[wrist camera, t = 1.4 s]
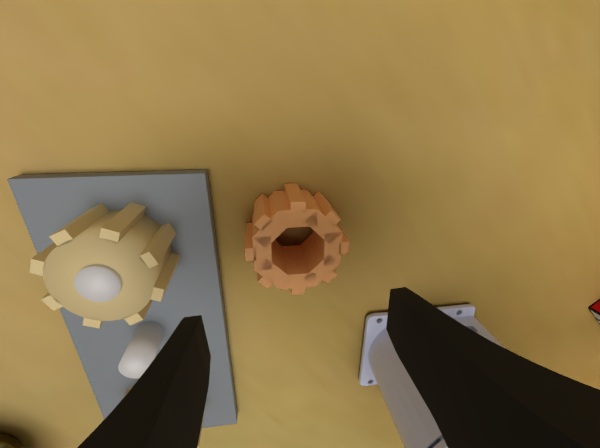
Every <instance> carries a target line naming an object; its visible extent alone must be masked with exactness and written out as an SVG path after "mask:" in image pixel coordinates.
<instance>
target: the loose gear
mask: <svg viewBox="0 0 600 448" xmlns="http://www.w3.org/2000/svg"><path fill="white" fill-rule="evenodd" d="M340 220H341V219H340V218H339V216H338V215H337V213H336V212H335V211H334V209H333V208H332V206H331V205H330V203H329V202H328V201H327V199H326V198H325V197H324V196H323V195H322V194H321V193H320V192H319V191H318V192H317V193H316V194H315V195H314V196H313V195H312V194H311V193H310V192H309V191H308V190H300V189H299V187H298V185H297V183H288V184H284V191H274V192H273V193H272V194H271V195H270V196H269V197H268V198H267V197H266V196H265V195H264V194H263V193H262V194H261V195H260V196H259V197H258V198H257V199H256V201H255V202H254V213H253V214H252V222H251V223H246V235H245V259H246V261H254V270H255V271H256V272H257V276H258V282H259V283H260V284H262V285H263V286H264V287H266V288H267V289H268V288H269V287H270V286H271V285H273V284H274V285H275V286H277V287H278V288H279V289H281V290H283V289H291V294H292V295H298V294H305V288H307V287H316V286H317V285H318V284H319V283H320V282H321V281H322V280H323V281H325V282H326V283H327V284H328V283H329V282H331V281H332V280H333V279H334V278H335V277H336V276H337V273H336V271H335V268H337V267H338V266H339V265H340V261H341V255H344V254H348V253H349V241H348V239H347V238H346V236H345V234H344V233H343V231H342V230H341V228H340V227H339V225H338V224H337V223H338V222H339V221H340ZM293 227H311V228H312V229H313V233H312V234H311V235H310V236H309V237H308V238H307V239H306V240H305V241H304V242H303V243H302V244H301V245H292V246H281V245H280V244H279V243H278V242H277V241H275V239H276V238H277V237H278V236H279V235H280V234H281V233H282V232H283V231H284V230H285V229H286V228H293Z"/></svg>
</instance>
